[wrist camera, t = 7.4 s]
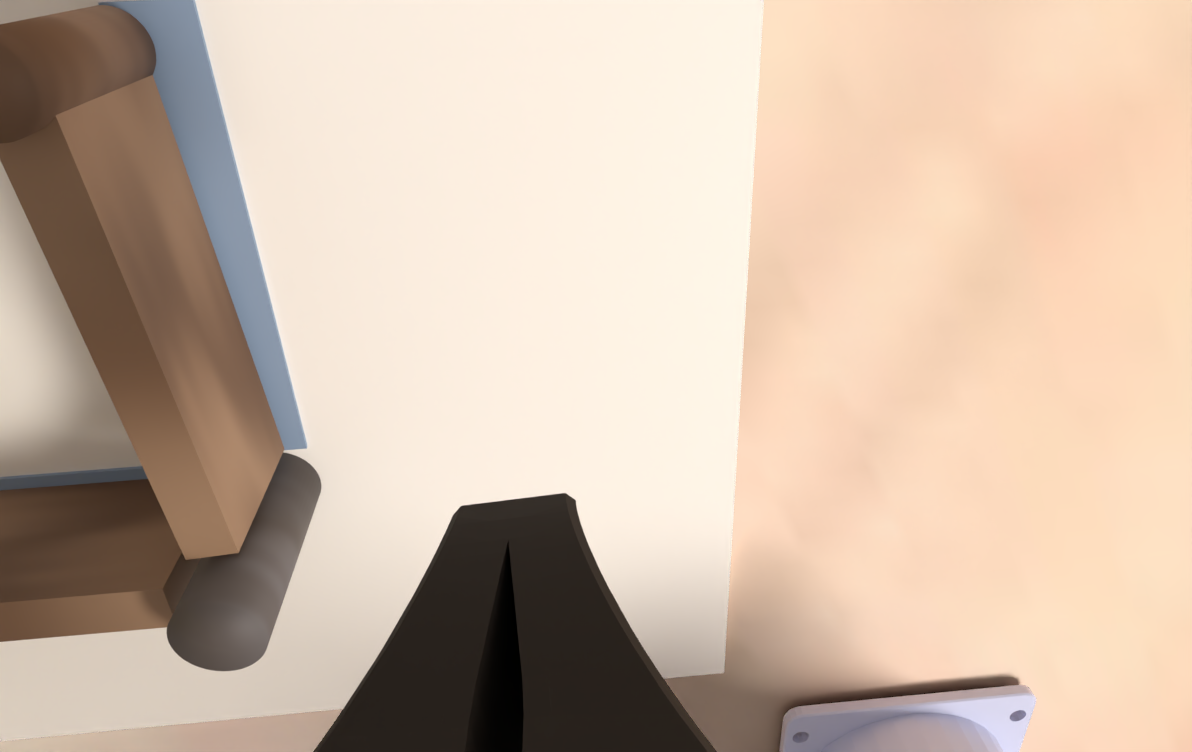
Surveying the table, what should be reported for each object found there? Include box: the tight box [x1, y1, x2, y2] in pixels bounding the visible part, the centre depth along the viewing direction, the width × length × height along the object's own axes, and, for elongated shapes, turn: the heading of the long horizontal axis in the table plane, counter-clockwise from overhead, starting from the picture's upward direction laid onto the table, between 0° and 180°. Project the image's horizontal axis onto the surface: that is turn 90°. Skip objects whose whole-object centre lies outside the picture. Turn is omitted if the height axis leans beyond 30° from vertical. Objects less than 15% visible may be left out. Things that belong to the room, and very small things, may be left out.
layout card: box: [0, 0, 764, 741], centre depth 19 cm, size 20×22×1 cm
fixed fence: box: [0, 453, 321, 671], centre depth 17 cm, size 10×2×5 cm, turn 92°
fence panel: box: [0, 5, 284, 560], centre depth 14 cm, size 9×1×4 cm, turn 6°
